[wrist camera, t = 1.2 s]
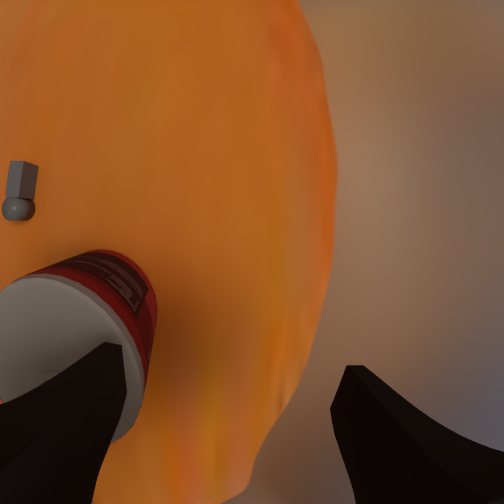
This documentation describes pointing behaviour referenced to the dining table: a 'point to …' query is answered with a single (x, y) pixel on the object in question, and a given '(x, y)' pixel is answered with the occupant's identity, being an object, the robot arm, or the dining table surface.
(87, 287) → the canned food
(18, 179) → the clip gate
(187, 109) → the dining table surface
